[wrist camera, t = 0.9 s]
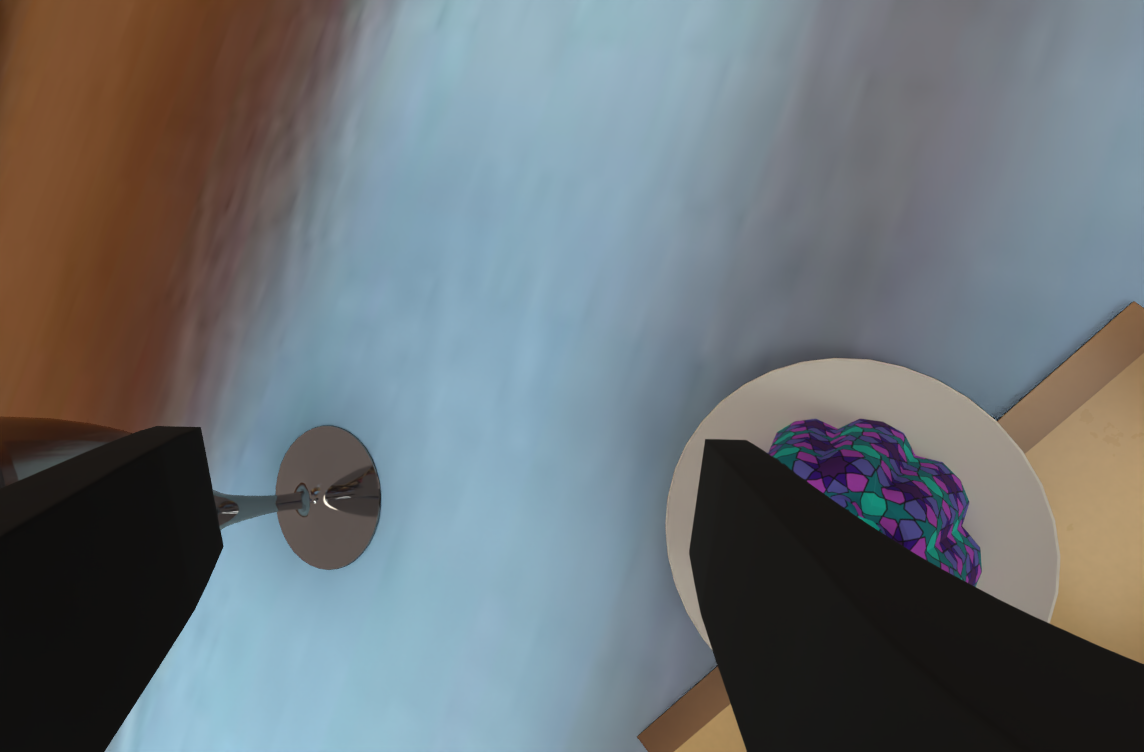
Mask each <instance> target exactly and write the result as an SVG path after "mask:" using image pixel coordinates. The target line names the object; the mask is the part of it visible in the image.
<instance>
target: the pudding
mask: <svg viewBox="0 0 1144 752" xmlns="http://www.w3.org/2000/svg"><path fill="white" fill-rule="evenodd" d="M705 439H728V440H747V441H749V442H751V443H752V444H754V445H756V446H757V447H759V448H761V449H762V450H763V451H765V452H766V453H768V454H769V455H771V456H772V457H774V458H775V459H776V460H778V461H779V462H781V463H782V464H783V465H785V466H786V467H788V468H789V469H790V470H792V471H793V472H794V473H796V474H797V475H799V476H800V477H801V478H803V479H804V480H806V481H807V482H808V483H810V484H811V485H812V486H814V487H815V488H817V489H818V490H819V491H821V492H822V493H824V494H825V495H827V496H828V497H829V498H831V499H832V500H834V501H835V502H836V503H838V504H839V505H841V506H842V507H844V508H845V509H847V510H848V511H850V512H851V513H852V514H854V515H855V516H857V517H858V518H860V519H861V520H863V521H864V522H866V523H868V524H869V525H871V526H872V527H874V528H875V529H877V530H878V531H880V532H881V533H883V534H885V535H886V536H888V537H889V538H891V539H893V540H894V541H896V542H897V543H899V544H901V545H902V546H904V547H905V548H907V549H909V550H910V551H912V552H913V553H915V554H917V555H918V556H920V557H922V558H924V559H925V560H927V561H929V562H931V563H932V564H934V565H936V566H937V567H939V568H941V569H943V570H945V571H946V572H948V573H950V574H952V575H954V576H956V577H958V578H960V579H961V580H963V581H965V582H967V583H969V584H971V585H973V586H975V587H976V588H978V589H980V590H982V591H984V592H986V593H988V594H990V595H991V596H993V597H995V598H997V599H999V600H1001V601H1003V602H1005V603H1007V604H1009V605H1011V606H1013V607H1016V608H1018V609H1020V610H1022V611H1024V612H1026V613H1028V614H1030V615H1032V616H1034V617H1036V618H1039V619H1041V620H1043V621H1045V622H1047V623H1050V621H1051V617H1052V614H1053V610H1054V607H1055V603H1056V599H1057V596H1058V589H1059V572H1060V550H1059V544H1058V537H1057V530H1056V524H1055V519H1054V516H1053V513H1052V510H1051V507H1050V505H1049V502H1048V499H1047V496H1046V494H1045V491H1044V488H1043V485H1042V483H1041V481H1040V480H1039V478H1038V476H1037V475H1036V473H1035V471H1034V470H1033V468H1032V466H1031V464H1030V463H1029V461H1028V459H1027V458H1026V456H1025V454H1024V453H1023V451H1022V450H1021V449H1020V447H1019V446H1018V445H1017V444H1016V443H1015V442H1014V441H1013V439H1012V438H1011V437H1010V436H1009V435H1008V434H1007V432H1006V431H1005V430H1004V429H1003V428H1002V427H1001V425H1000V424H999V423H998V422H997V421H996V420H994V419H993V418H992V417H991V416H990V415H988V414H987V413H986V412H985V411H984V410H982V409H981V408H980V407H979V406H978V405H976V404H975V403H974V402H973V401H972V400H970V399H969V398H968V397H966V396H964V395H962V394H961V393H959V392H957V391H955V390H954V389H952V388H950V387H949V386H947V385H945V384H943V383H942V382H940V381H938V380H937V379H934V378H931V377H929V376H926V375H924V374H921V373H918V372H916V371H913V370H910V369H908V368H905V367H903V366H898V365H893V364H888V363H883V362H878V361H874V360H869V359H847V358H830V359H822V360H813V361H805V362H800V363H796V364H793V365H790V366H786V367H783V368H780V369H776V370H773V371H770V372H768V373H766V374H764V375H762V376H760V377H758V378H756V379H754V380H752V381H750V382H748V383H746V384H744V385H743V386H742V387H740V388H739V389H737V390H736V391H735V392H733V393H732V394H731V395H729V396H728V397H726V398H725V399H724V400H722V401H721V402H720V403H719V404H718V405H717V406H716V407H715V408H714V409H713V410H712V411H711V412H710V413H709V414H708V416H707V417H706V418H705V419H704V420H703V421H702V422H701V423H700V425H699V426H698V428H697V429H696V431H695V432H694V434H693V435H692V437H691V438H690V440H689V441H688V443H687V444H686V446H685V448H684V450H683V452H682V455H681V457H680V459H679V461H678V464H677V466H676V468H675V470H674V474H673V478H672V482H671V486H670V490H669V494H668V499H667V512H666V524H665V528H666V540H667V552H668V558H669V562H670V566H671V570H672V574H673V578H674V582H675V585H676V588H677V590H678V592H679V595H680V597H681V600H682V602H683V604H684V607H685V609H686V611H687V613H688V615H689V617H690V618H691V620H692V622H693V623H694V625H695V626H696V628H697V630H698V631H699V633H700V635H701V636H702V638H703V639H704V641H705V642H706V643H707V644H708V645H709V647H710V648H711V649H712V647H711V644H710V641H709V638H708V635H707V632H706V629H705V626H704V623H703V620H702V616H701V613H700V608H699V604H698V599H697V594H696V589H695V584H694V578H693V573H692V567H691V562H690V556H689V548H690V541H691V534H692V527H693V520H694V513H695V507H696V500H697V493H698V486H699V479H700V472H701V465H702V458H703V451H704V444H705Z"/></svg>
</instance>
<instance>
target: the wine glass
mask: <svg viewBox="0 0 1144 752" xmlns="http://www.w3.org/2000/svg"><path fill="white" fill-rule="evenodd" d="M130 434H133V433H130V432H127V431H124V430H120V429H115V428H110V427H106V426H101V425H96V424H91V423H84V422H76V421H68V420H61V419H52V418H29V417H0V488H3V487H5V486H7V485H10V484H12V483H15V482H17V481H19V480H22V479H24V478H26V477H29V476H31V475H33V474H36V473H38V472H40V471H43V470H45V469H47V468H50V467H52V466H54V465H57V464H59V463H61V462H64V461H66V460H68V459H71V458H73V457H75V456H78V455H80V454H82V453H85V452H87V451H90V450H92V449H94V448H97V447H99V446H102V445H104V444H107V443H109V442H112V441H114V440H117V439H119V438H122V437H125V436H127V435H130ZM213 494H214V499H215V505H216V510H217V515H218V520H219V525H220V530H222V529H224V528H225V527H227V526H229V525H232V524H234V523H238V522H241V521H244V520H247V519H251V518H254V517H258V516H261V515H265V514H270V513H274V512H277V515H278V520H279V524H280V527H281V530H282V532H283V535H284V537H285V539H286V541H287V542H288V544H289V546H290V547H291V548H292V550H293V551H294V552H295V553H296V554H297V555H298V556H299V557H300V558H301V559H302V560H303V561H305V562H306V563H308V564H309V565H311V566H314V567H316V568H319V569H325V570H333V569H339V568H342V567H345V566H347V565H349V564H351V563H352V562H354V561H355V560H356V559H357V558H358V557H359V556H360V555H361V554H362V553H363V552H364V551H365V549H366V548H367V546H368V545H369V544H370V541H371V539H372V537H373V535H374V533H375V530H376V527H377V523H378V520H379V513H380V501H381V494H380V484H379V479H378V475H377V471H376V468H375V465H374V463H373V460H372V458H371V456H370V454H369V453H368V451H367V449H366V448H365V447H364V445H363V444H362V443H361V442H360V441H359V439H357V438H356V437H355V436H354V435H353V434H351V433H350V432H348V431H346V430H344V429H342V428H339V427H335V426H320V427H315V428H313V429H311V430H309V431H307V432H305V433H304V434H302V435H301V436H300V437H299V438H297V440H296V441H295V442H294V443H293V444H292V445H291V446H290V448H289V450H288V451H287V453H286V454H285V457H284V459H283V461H282V463H281V466H280V470H279V473H278V477H277V484H276V495H269V496H244V495H229V494H223V493H220V492H218V491H215V490H213Z"/></svg>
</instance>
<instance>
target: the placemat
mask: <svg viewBox="0 0 1144 752" xmlns="http://www.w3.org/2000/svg"><path fill="white" fill-rule="evenodd" d="M997 422H998V423H999V424H1000V425H1001V427H1002V428H1003V429H1004V430H1005V431H1006V432H1007V434H1008V435H1009V436H1010V437H1011V438H1012V439H1013V441H1014V442H1015V443H1016V444H1017V445H1018V446H1019V447H1020V449H1021V450H1022V451H1023V453H1024V454H1025V456H1026V458H1027V459H1028V461H1029V463H1030V464H1031V466H1032V468H1033V470H1034V471H1035V473H1036V475H1037V476H1038V478H1039V480H1040V481H1041V483H1042V485H1043V488H1044V491H1045V494H1046V496H1047V499H1048V502H1049V505H1050V507H1051V510H1052V513H1053V516H1054V519H1055V524H1056V530H1057V537H1058V544H1059V550H1060V572H1059V589H1058V596H1057V599H1056V603H1055V607H1054V610H1053V614H1052V617H1051V621H1050V624H1052V625H1054V626H1056V627H1058V628H1061V629H1063V630H1065V631H1067V632H1070V633H1072V634H1074V635H1076V636H1078V637H1081V638H1083V639H1085V640H1087V641H1090V642H1092V643H1094V644H1096V645H1098V646H1101V647H1103V648H1105V649H1108V650H1110V651H1113V652H1115V653H1118V654H1120V655H1122V656H1125V657H1127V658H1130V659H1132V660H1135V661H1137V662H1139V663H1142V664H1144V308H1143V307H1141V306H1140V305H1139V304H1137V303H1136V302H1132V303H1131V304H1130V305H1129V306H1127V307H1126V308H1125V309H1124V310H1123V311H1122V312H1121V313H1119V314H1118V315H1117V316H1116V317H1115V318H1114V319H1113V320H1111V321H1110V322H1109V323H1108V324H1107V325H1106V326H1105V327H1103V328H1102V329H1101V330H1100V331H1099V332H1098V333H1097V334H1096V335H1094V336H1093V337H1092V338H1091V339H1090V340H1089V341H1088V342H1086V343H1085V344H1084V345H1083V346H1082V347H1081V348H1080V349H1078V350H1077V351H1076V352H1075V353H1074V354H1073V355H1072V356H1070V357H1069V358H1068V359H1067V360H1066V361H1065V362H1064V363H1062V364H1061V365H1060V366H1059V367H1058V368H1057V369H1056V370H1054V371H1053V372H1052V373H1051V374H1050V375H1049V376H1048V377H1046V378H1045V379H1044V380H1043V381H1042V382H1041V383H1040V384H1039V385H1037V386H1036V387H1035V388H1034V389H1033V390H1032V391H1031V392H1029V393H1028V394H1027V395H1026V396H1025V397H1024V398H1023V399H1021V400H1020V401H1019V402H1018V403H1017V404H1016V405H1015V406H1013V407H1012V408H1011V409H1010V410H1009V411H1008V412H1007V413H1005V414H1004V415H1003V416H1002V417H1001V418H1000V419H999V420H997ZM637 738H638V739H639V740H640V742H641V743H642V744H643V746H644V747H645V748H646V750H647V751H648V752H747V751H746V748H745V745H744V742H743V739H742V736H741V733H740V730H739V727H738V724H737V721H736V718H735V715H734V712H733V709H732V706H731V703H730V701H729V698H728V695H727V692H726V689H725V686H724V683H723V680H722V677H721V674H720V671H719V668H718V666H717V667H716V668H715V669H714V670H712V671H711V672H710V673H709V674H708V675H707V676H706V677H704V678H703V679H702V680H701V681H700V682H699V683H698V684H696V685H695V686H694V687H693V688H692V689H691V690H690V691H688V692H687V693H686V694H685V695H684V696H683V697H682V698H680V699H679V700H678V701H677V702H676V703H675V704H674V705H673V706H671V707H670V708H669V709H668V710H667V711H666V712H665V713H663V714H662V715H661V716H660V717H659V718H658V719H657V720H655V721H654V722H653V723H652V724H651V725H650V726H649V727H647V728H646V729H645V730H644V731H643V732H642V733H641V734H639V735H638V736H637Z"/></svg>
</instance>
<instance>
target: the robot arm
mask: <svg viewBox="0 0 1144 752" xmlns="http://www.w3.org/2000/svg"><path fill="white" fill-rule="evenodd" d="M222 549H223V541H222V536H221V531H220V525H219V520H218V515H217V510H216V505H215V499H214V494H213V489H212V484H211V478H210V473H209V468H208V463H207V457H206V452H205V447H204V442H203V436H202V431H201V427H170V426H155V427H152V428H148V429H145V430H142V431H139V432H136V433H133V434H130V435H127V436H125V437H122V438H119V439H117V440H114V441H112V442H109V443H107V444H104V445H102V446H99V447H97V448H94V449H92V450H90V451H87V452H85V453H82V454H80V455H78V456H75V457H73V458H71V459H68V460H66V461H64V462H61V463H59V464H57V465H54V466H52V467H50V468H47V469H45V470H43V471H40V472H38V473H36V474H33V475H31V476H29V477H26V478H24V479H22V480H19V481H17V482H15V483H12V484H10V485H7V486H5V487H3V488H0V752H104V751H105V750H106V748H107V747H108V745H109V744H110V742H111V741H112V739H113V737H114V736H115V734H116V733H117V731H118V730H119V728H120V727H121V725H122V723H123V722H124V720H125V719H126V717H127V716H128V714H129V713H130V711H131V709H132V708H133V706H134V705H135V703H136V702H137V700H138V699H139V697H140V695H141V694H142V692H143V691H144V689H145V688H146V686H147V685H148V683H149V681H150V680H151V678H152V677H153V675H154V674H155V672H156V671H157V669H158V668H159V666H160V664H161V663H162V661H163V660H164V658H165V657H166V655H167V653H168V652H169V650H170V649H171V647H172V645H173V644H174V642H175V641H176V639H177V637H178V636H179V634H180V633H181V631H182V630H183V628H184V626H185V625H186V623H187V621H188V620H189V618H190V617H191V615H192V613H193V612H194V610H195V608H196V606H197V604H198V602H199V600H200V598H201V596H202V594H203V592H204V589H205V587H206V585H207V583H208V581H209V579H210V576H211V574H212V572H213V569H214V567H215V565H216V563H217V560H218V558H219V556H220V553H221V551H222ZM689 556H690V562H691V567H692V573H693V578H694V584H695V589H696V594H697V599H698V604H699V608H700V613H701V616H702V620H703V623H704V626H705V629H706V632H707V635H708V638H709V641H710V644H711V647H712V650H713V653H714V656H715V659H716V662H717V665H718V668H719V671H720V674H721V677H722V680H723V683H724V686H725V689H726V692H727V695H728V698H729V701H730V703H731V706H732V709H733V712H734V715H735V718H736V721H737V724H738V727H739V730H740V733H741V736H742V739H743V742H744V745H745V748H746V751H747V752H1144V664H1142V663H1139V662H1137V661H1135V660H1132V659H1130V658H1127V657H1125V656H1122V655H1120V654H1118V653H1115V652H1113V651H1110V650H1108V649H1105V648H1103V647H1101V646H1098V645H1096V644H1094V643H1092V642H1090V641H1087V640H1085V639H1083V638H1081V637H1078V636H1076V635H1074V634H1072V633H1070V632H1067V631H1065V630H1063V629H1061V628H1058V627H1056V626H1054V625H1052V624H1050V623H1047V622H1045V621H1043V620H1041V619H1039V618H1036V617H1034V616H1032V615H1030V614H1028V613H1026V612H1024V611H1022V610H1020V609H1018V608H1016V607H1013V606H1011V605H1009V604H1007V603H1005V602H1003V601H1001V600H999V599H997V598H995V597H993V596H991V595H990V594H988V593H986V592H984V591H982V590H980V589H978V588H976V587H975V586H973V585H971V584H969V583H967V582H965V581H963V580H961V579H960V578H958V577H956V576H954V575H952V574H950V573H948V572H946V571H945V570H943V569H941V568H939V567H937V566H936V565H934V564H932V563H931V562H929V561H927V560H925V559H924V558H922V557H920V556H918V555H917V554H915V553H913V552H912V551H910V550H909V549H907V548H905V547H904V546H902V545H901V544H899V543H897V542H896V541H894V540H893V539H891V538H889V537H888V536H886V535H885V534H883V533H881V532H880V531H878V530H877V529H875V528H874V527H872V526H871V525H869V524H868V523H866V522H864V521H863V520H861V519H860V518H858V517H857V516H855V515H854V514H852V513H851V512H850V511H848V510H847V509H845V508H844V507H842V506H841V505H839V504H838V503H836V502H835V501H834V500H832V499H831V498H829V497H828V496H827V495H825V494H824V493H822V492H821V491H819V490H818V489H817V488H815V487H814V486H812V485H811V484H810V483H808V482H807V481H806V480H804V479H803V478H801V477H800V476H799V475H797V474H796V473H794V472H793V471H792V470H790V469H789V468H788V467H786V466H785V465H783V464H782V463H781V462H779V461H778V460H776V459H775V458H774V457H772V456H771V455H769V454H768V453H766V452H765V451H763V450H762V449H761V448H759V447H757V446H756V445H754V444H752V443H751V442H749V441H747V440H728V439H705V444H704V451H703V458H702V465H701V472H700V479H699V486H698V493H697V500H696V507H695V513H694V520H693V527H692V534H691V541H690V548H689Z"/></svg>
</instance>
